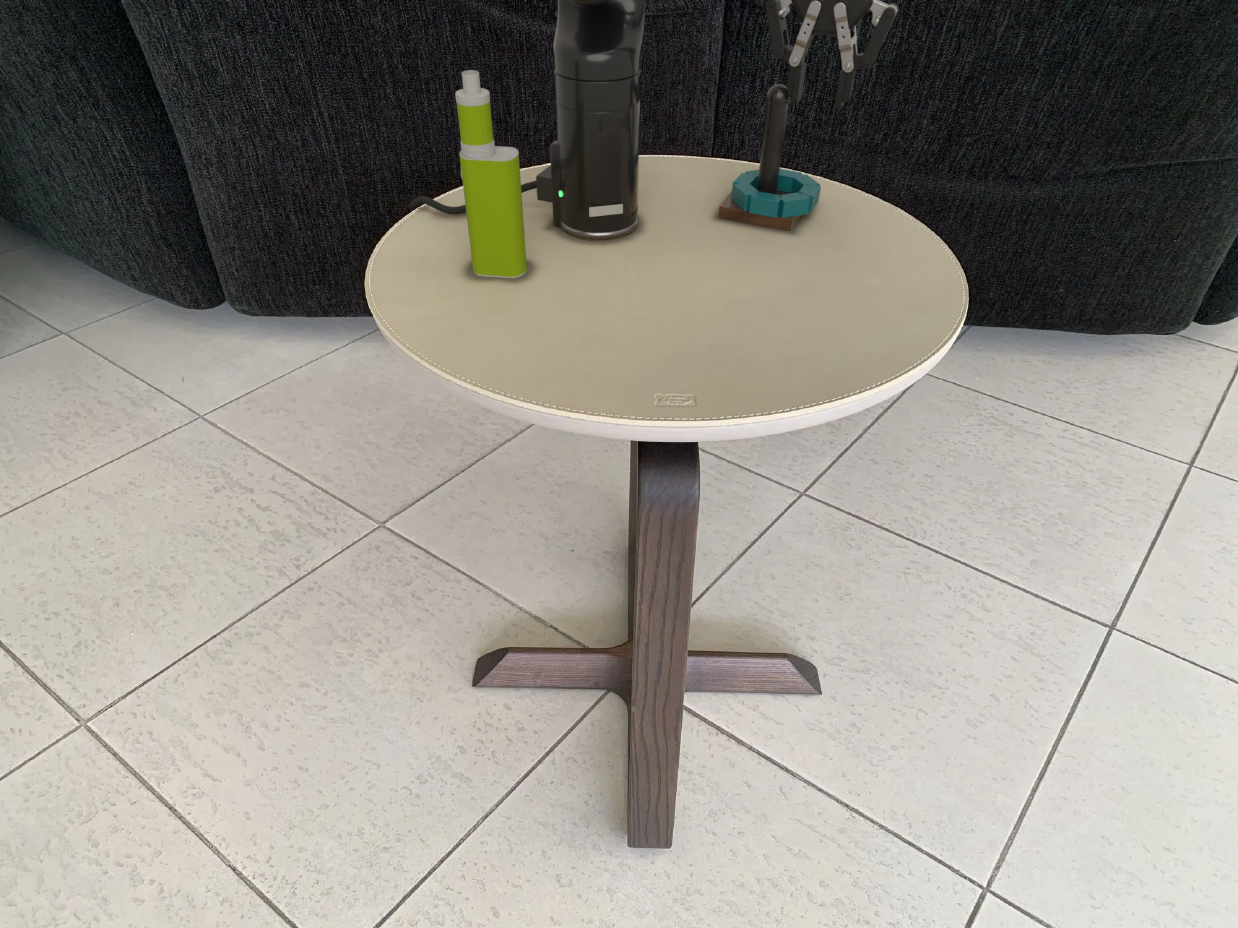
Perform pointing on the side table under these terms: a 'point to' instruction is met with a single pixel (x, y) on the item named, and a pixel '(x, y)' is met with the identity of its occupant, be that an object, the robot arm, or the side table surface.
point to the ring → (773, 205)
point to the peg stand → (767, 164)
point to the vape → (489, 187)
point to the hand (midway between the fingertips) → (817, 102)
